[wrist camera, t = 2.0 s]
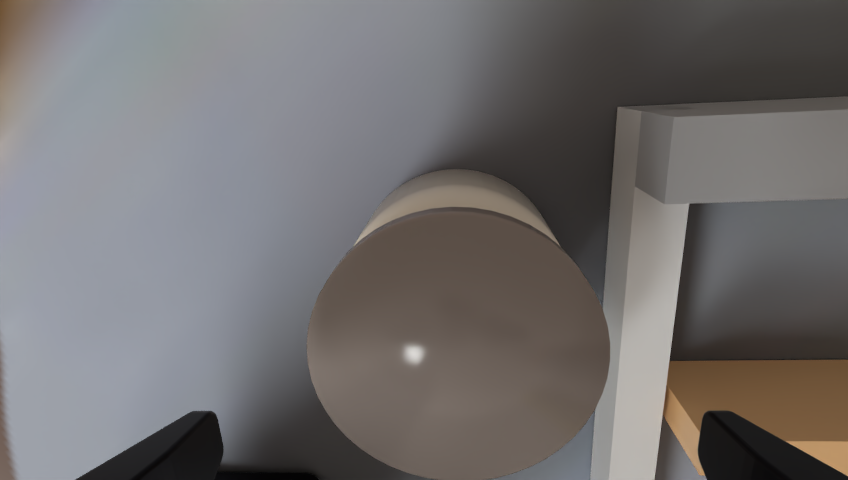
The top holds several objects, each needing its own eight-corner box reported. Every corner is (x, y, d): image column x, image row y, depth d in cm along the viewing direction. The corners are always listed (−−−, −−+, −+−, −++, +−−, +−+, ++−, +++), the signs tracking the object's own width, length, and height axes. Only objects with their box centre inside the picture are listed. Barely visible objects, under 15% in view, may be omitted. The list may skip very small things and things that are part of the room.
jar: (366, 352, 18) (324, 479, 12) (348, 169, 16) (287, 221, 10) (553, 350, 17) (599, 482, 12) (560, 161, 15) (622, 211, 10)
